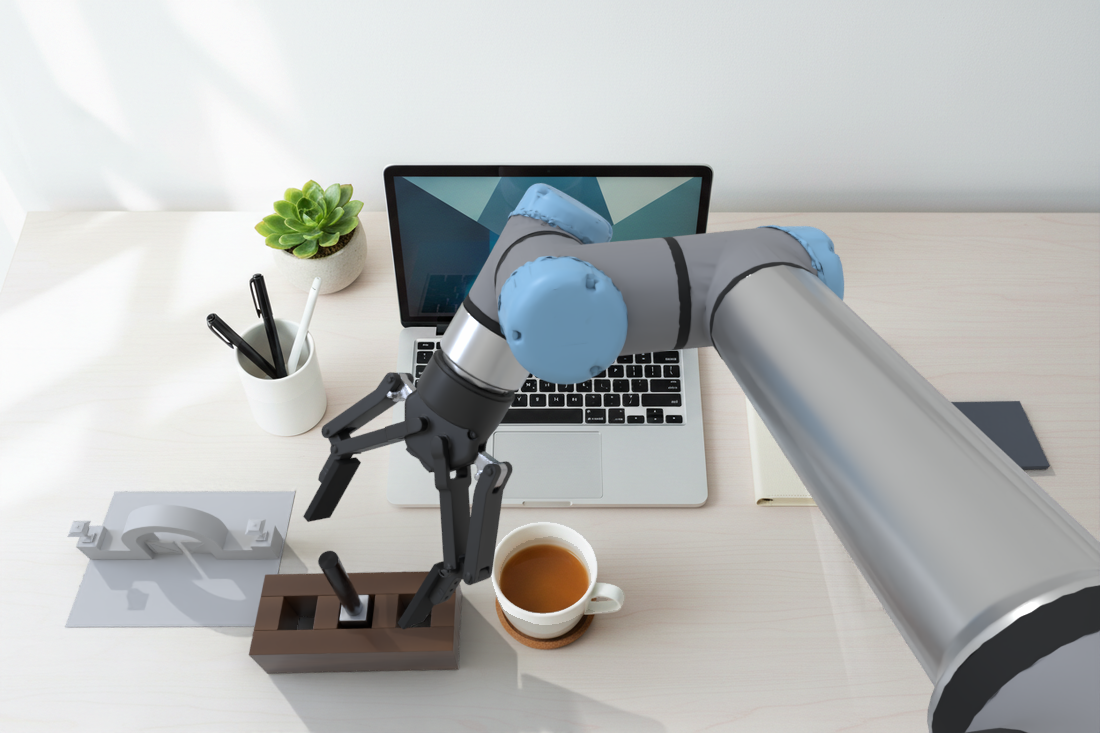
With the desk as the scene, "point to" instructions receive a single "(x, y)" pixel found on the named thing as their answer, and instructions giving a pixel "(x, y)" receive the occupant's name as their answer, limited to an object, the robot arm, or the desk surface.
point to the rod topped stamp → (346, 594)
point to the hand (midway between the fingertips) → (361, 567)
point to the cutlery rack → (351, 648)
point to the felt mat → (1007, 430)
